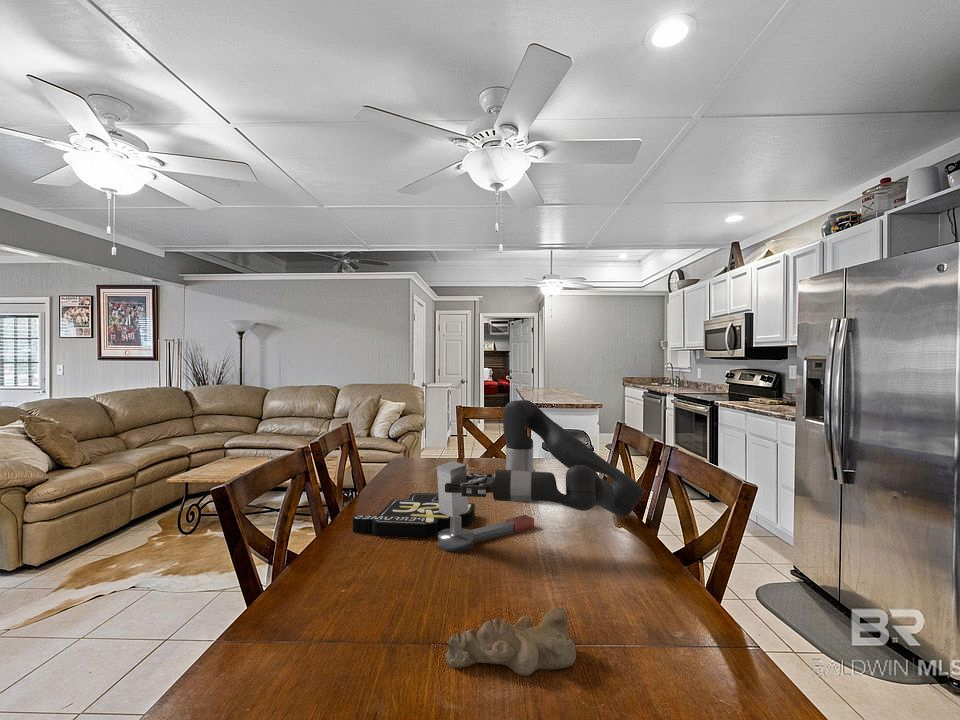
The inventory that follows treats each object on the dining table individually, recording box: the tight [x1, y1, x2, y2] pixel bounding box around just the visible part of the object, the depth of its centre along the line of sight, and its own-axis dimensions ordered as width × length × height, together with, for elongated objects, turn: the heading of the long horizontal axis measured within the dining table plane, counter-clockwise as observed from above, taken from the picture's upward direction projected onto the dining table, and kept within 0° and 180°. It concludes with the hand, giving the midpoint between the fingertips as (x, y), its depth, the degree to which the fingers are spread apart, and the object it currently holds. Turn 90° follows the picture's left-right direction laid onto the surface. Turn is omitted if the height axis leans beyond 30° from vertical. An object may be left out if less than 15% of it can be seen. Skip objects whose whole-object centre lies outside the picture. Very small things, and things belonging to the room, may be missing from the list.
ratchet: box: [437, 514, 535, 553], centre depth 128 cm, size 30×9×7 cm, turn 126°
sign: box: [351, 492, 476, 539], centre depth 142 cm, size 32×4×30 cm
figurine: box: [444, 607, 577, 677], centre depth 76 cm, size 12×8×20 cm
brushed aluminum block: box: [436, 460, 469, 518], centre depth 122 cm, size 5×5×12 cm
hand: (448, 483), depth 122 cm, fingers closed on brushed aluminum block, 7 cm apart
